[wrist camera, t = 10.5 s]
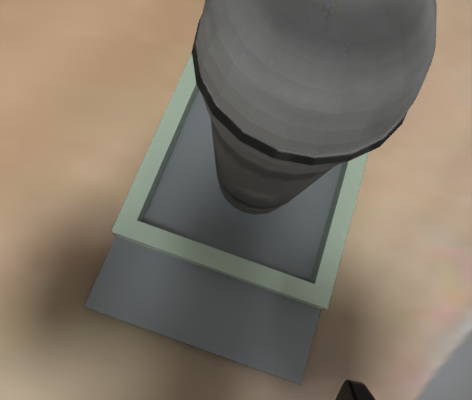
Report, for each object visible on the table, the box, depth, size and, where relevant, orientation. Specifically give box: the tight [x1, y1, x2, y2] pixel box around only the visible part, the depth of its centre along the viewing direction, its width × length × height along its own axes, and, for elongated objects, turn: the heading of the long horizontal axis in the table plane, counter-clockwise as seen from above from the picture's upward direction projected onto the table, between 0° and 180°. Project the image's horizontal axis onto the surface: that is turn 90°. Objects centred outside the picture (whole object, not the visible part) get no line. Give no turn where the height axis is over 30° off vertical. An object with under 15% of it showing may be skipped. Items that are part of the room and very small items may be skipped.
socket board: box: [84, 53, 369, 385], centre depth 24 cm, size 22×12×2 cm, turn 161°
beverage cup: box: [192, 0, 436, 215], centre depth 14 cm, size 7×7×20 cm
